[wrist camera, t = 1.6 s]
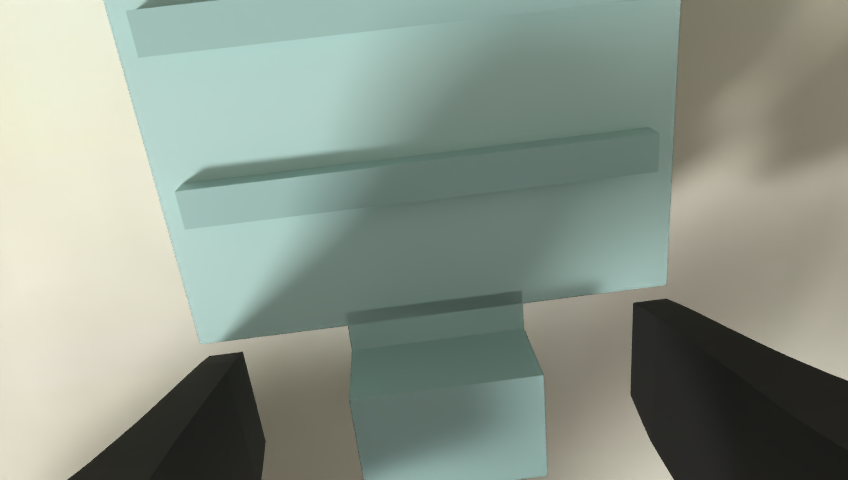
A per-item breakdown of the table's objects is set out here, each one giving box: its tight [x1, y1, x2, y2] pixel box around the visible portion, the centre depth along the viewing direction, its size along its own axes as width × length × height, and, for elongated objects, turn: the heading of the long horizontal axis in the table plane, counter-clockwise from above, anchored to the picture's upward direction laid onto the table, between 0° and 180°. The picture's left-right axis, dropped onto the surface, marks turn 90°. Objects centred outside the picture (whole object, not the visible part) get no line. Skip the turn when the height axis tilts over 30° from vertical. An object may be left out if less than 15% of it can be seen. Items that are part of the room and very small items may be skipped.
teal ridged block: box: [103, 0, 681, 480], centre depth 11 cm, size 12×8×6 cm, turn 6°
